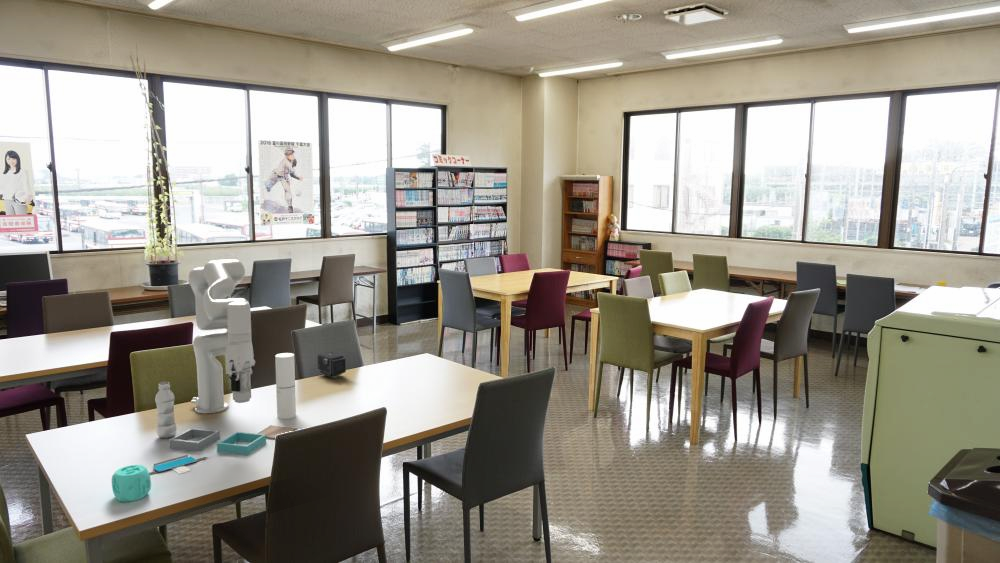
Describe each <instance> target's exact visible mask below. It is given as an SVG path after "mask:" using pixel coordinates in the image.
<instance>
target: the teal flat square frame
mask: <svg viewBox="0 0 1000 563" xmlns="http://www.w3.org/2000/svg"><path fill="white" fill-rule="evenodd" d="M237 442H245V443H246V442H247V445H244V444H236V443H237ZM266 443H267V438H266V435H264V434H257V433H255V432H254V433H252V432H243V431H242V432H241V431H236V432H234V433H232V434H231V435H229V436H227V437H226V438H223V439H222V440H219V442H217V443H216V452H217V453H223V454H224V453H226V454H233V455H242V456H243V455H244V456H248V455H249V454H251V453H253V452H254V451H256V450H257V449H259V448H261V447H262V446H264V445H265V444H266ZM263 444H264V445H263Z"/></svg>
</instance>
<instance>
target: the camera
mask: <svg viewBox="0 0 1000 563" xmlns="http://www.w3.org/2000/svg"><path fill="white" fill-rule="evenodd" d="M346 360H347V359H346V358H345V357H344V355H342V354H339V353H336V352H333V351H330V352H326V353H320V354H317V369H318V370H319V371H320V373H321V374H322V375H325V376H326V377H330V378H331V379H336V378H338V376H341V375H342V374H344V373H346V371H347V370H346V368H347V366H346V365H347V364H346Z"/></svg>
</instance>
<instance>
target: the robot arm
mask: <svg viewBox="0 0 1000 563" xmlns="http://www.w3.org/2000/svg"><path fill="white" fill-rule="evenodd" d="M245 276H246V270H245V265H244V264H243V263H242V261H241V260H239V259H217V260H215V259H214V260H210V261H208V262H207V263H205V264H204V265H203V266H202V267H201V266H200V267H196V268H192V269H191V270H190V271H189V273H188V281H189V282H188V283H189V285H190V287H191V291H192V292H193V294H194V299H195V300H194V302H195V303H194V304H195V320H196V327H197V328H198V329H199V330H200V331H215V332H206V333H202V334H199V335H197V336H195V337H194V338H193V342H192V346H193V351H194V356H195V362H196V376H197V378H196V379H197V395H198V396H193V397H192V399H191V400H190V402H191V404H195V405H196V406H195V407H194V412H196V413H198V414H204V415H205V414H215V413H220V412H222V411H225V410H227V409H228V407H229V404H228V403H227V401H226V402H225V399H224V398H225V397H224V395H225V394H224V376H223V375H224V374H223V373H224V372H223V370H224V369H223V365H222V363H221V362H220V361H219V360H218V359H217V358H216V357H218V356H224V355H225V374H226V376H227V378H229V381H230V391H231V392H233V391H236V392H239V391H240V380H239V375H240V372H241V371H242V369H243V365H244V363H245V362H246V361H249V362H250V374H251V387H252V386H253V378H252V377H253V375H252V374H253V373H254V372H253V370H254V366H255V364H256V360H255V359H254V357H255V354H254V348H253V342H252V320H251V319H252V318H251V317H252V316H251V314H252V313H251V304H250V302H249V301H248V300H247V299H246V298H243V297H237V298H236V297H234V298H233V297H232V298H228V297H230V296H231V295H232V294H233V293H234V292H235V289H236V286H237V285H239V284H240V283H242V281H243V280H244V278H245ZM225 329H226V330H225ZM216 330H225V331H216ZM233 369H236V371H233ZM234 373H236V376H235V375H234Z"/></svg>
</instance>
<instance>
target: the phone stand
mask: <svg viewBox="0 0 1000 563" xmlns="http://www.w3.org/2000/svg"><path fill="white" fill-rule="evenodd" d="M206 459H208V457H207V456H205V457H200V458H195V457H193V456H189V455H188V454H186V455H181V456H177V457H175V458H171V459H168V460H163V461H160V462H157V463H153V465H152V468H153V471H151V472H149V475H150V476H151V475H154V474H158V473H162V472H165V471H167V470H173V471H174V472H175V473H177V474H178V475H182V474H185V473H189V472H191V471H192V469H190V468H188V467H187V466H186V465H190V464H192V463H196V462H201V461H202V460H206Z"/></svg>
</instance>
